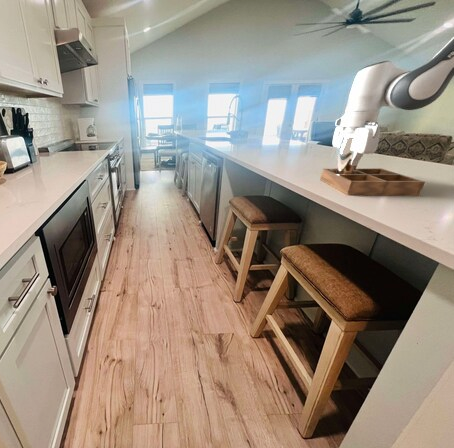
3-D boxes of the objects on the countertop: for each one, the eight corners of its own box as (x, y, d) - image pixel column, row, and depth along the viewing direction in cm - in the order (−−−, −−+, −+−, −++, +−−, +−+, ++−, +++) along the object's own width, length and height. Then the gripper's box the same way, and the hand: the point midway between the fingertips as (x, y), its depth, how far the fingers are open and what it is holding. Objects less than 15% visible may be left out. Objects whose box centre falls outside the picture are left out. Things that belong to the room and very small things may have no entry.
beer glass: (337, 183, 85) (349, 138, 79) (327, 178, 91) (338, 136, 85) (359, 182, 84) (373, 137, 77) (348, 178, 90) (360, 135, 84)
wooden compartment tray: (377, 179, 90) (381, 168, 88) (419, 195, 72) (425, 181, 71) (320, 179, 93) (322, 168, 91) (347, 194, 76) (351, 181, 74)
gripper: (392, 121, 69) (376, 169, 75) (352, 119, 88) (342, 158, 93) (367, 122, 70) (353, 169, 76) (333, 120, 89) (324, 158, 94)
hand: (347, 163), depth 85 cm, fingers closed on beer glass, 6 cm apart
